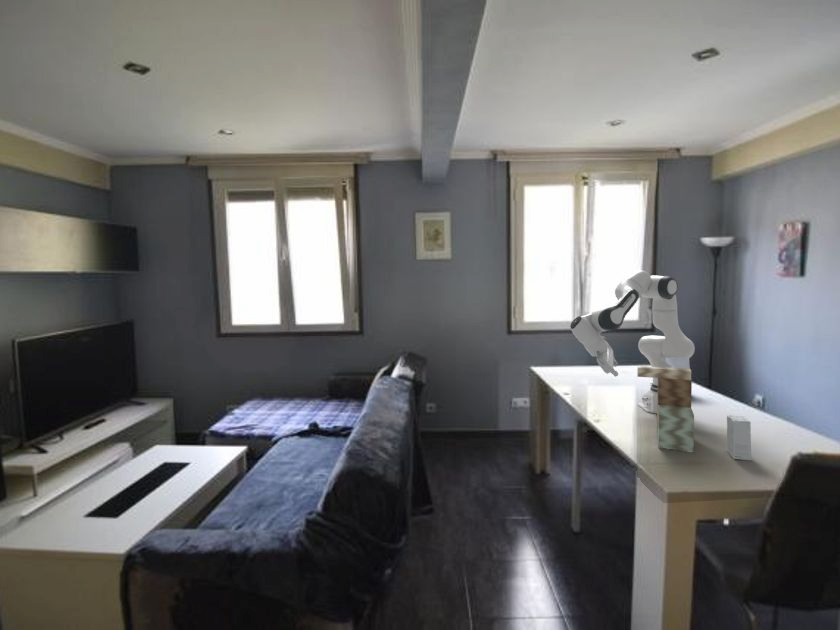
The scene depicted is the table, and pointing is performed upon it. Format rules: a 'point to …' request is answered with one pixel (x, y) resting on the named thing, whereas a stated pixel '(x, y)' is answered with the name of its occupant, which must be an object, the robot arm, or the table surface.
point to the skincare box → (739, 437)
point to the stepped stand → (675, 414)
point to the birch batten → (664, 373)
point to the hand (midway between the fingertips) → (616, 370)
